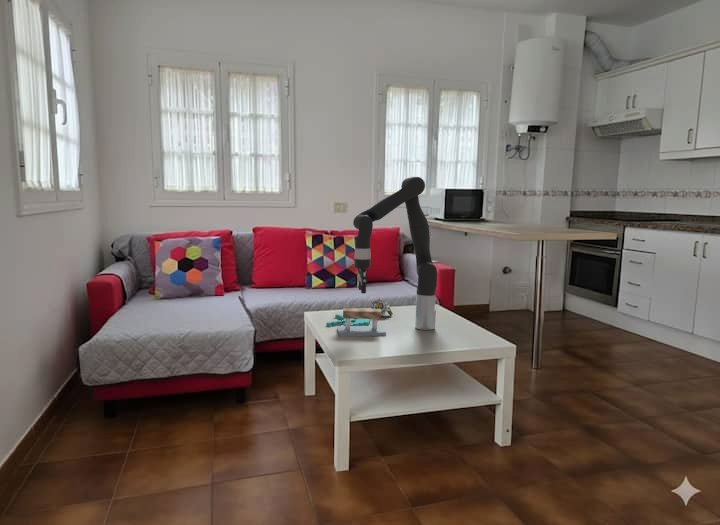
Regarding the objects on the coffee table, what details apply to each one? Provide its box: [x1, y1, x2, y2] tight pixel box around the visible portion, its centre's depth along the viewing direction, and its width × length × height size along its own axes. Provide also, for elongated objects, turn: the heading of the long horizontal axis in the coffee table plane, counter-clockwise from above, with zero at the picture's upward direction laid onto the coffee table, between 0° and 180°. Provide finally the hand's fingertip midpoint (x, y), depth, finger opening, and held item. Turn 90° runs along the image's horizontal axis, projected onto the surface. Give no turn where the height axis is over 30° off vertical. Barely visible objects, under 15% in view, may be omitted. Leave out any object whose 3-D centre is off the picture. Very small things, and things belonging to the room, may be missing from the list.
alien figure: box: [326, 313, 372, 328], centre depth 250 cm, size 20×2×20 cm
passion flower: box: [370, 298, 394, 318], centre depth 265 cm, size 11×11×12 cm
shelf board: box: [342, 307, 382, 320], centre depth 232 cm, size 18×6×4 cm, turn 91°
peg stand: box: [336, 318, 387, 337], centre depth 233 cm, size 22×12×8 cm, turn 98°
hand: (362, 291), depth 230 cm, fingers open, 8 cm apart
